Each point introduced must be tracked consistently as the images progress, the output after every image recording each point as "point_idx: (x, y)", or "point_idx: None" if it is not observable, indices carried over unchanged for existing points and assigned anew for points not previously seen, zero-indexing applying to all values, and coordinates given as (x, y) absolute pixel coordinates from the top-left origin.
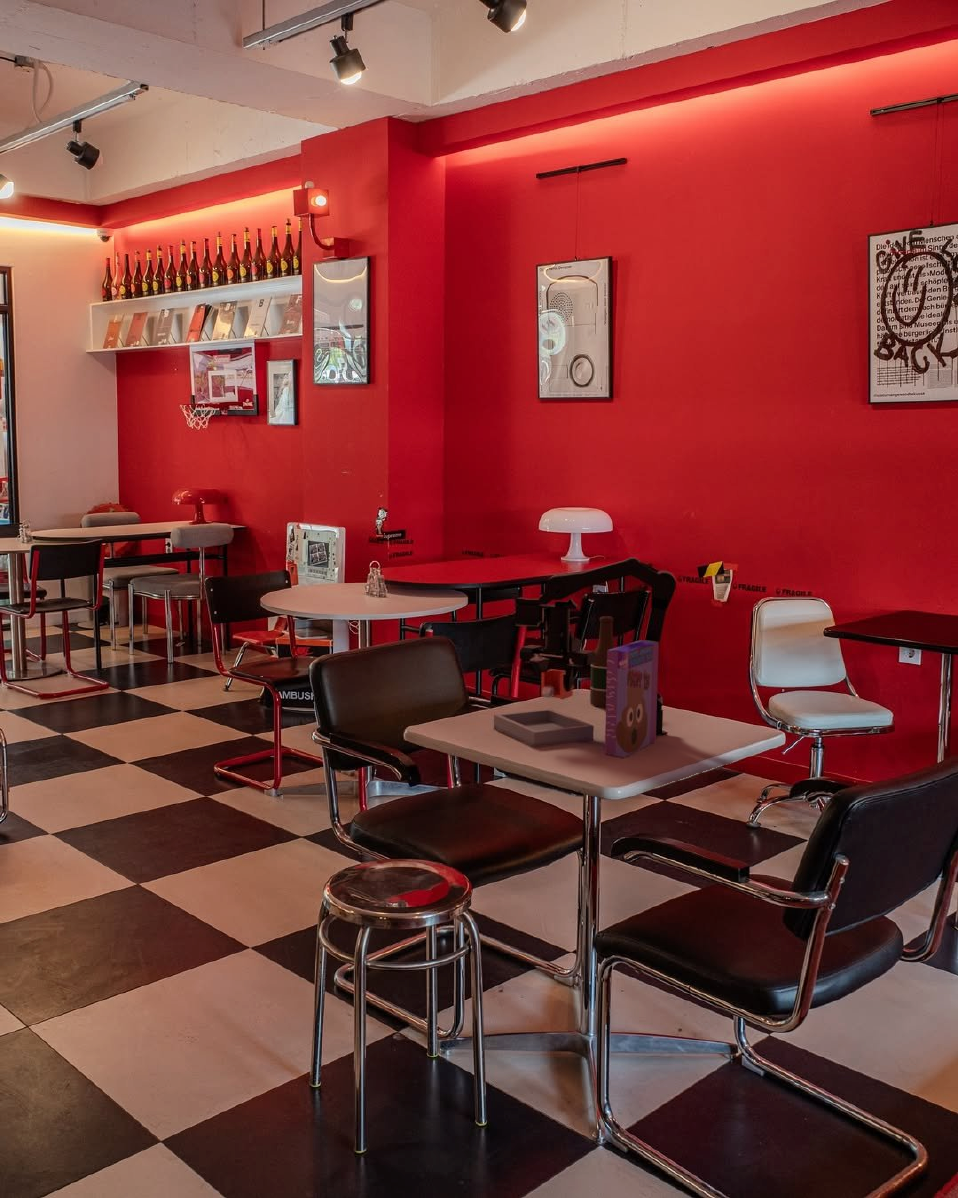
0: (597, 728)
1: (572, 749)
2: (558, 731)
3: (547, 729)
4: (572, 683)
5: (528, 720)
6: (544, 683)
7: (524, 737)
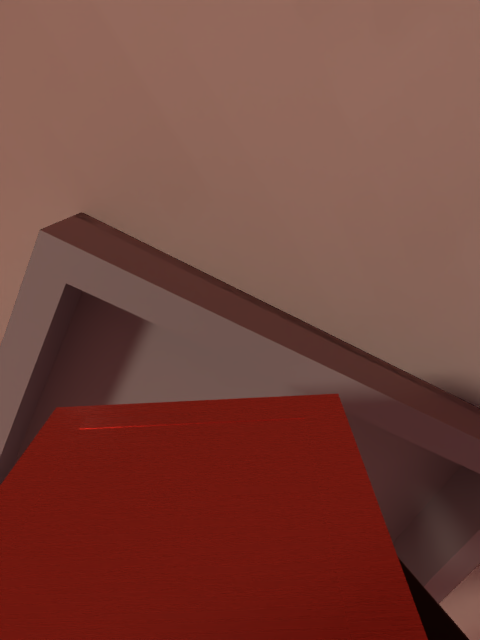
0: (432, 155)
1: (473, 582)
2: None
3: None
4: (441, 622)
5: (37, 391)
6: None
7: None
